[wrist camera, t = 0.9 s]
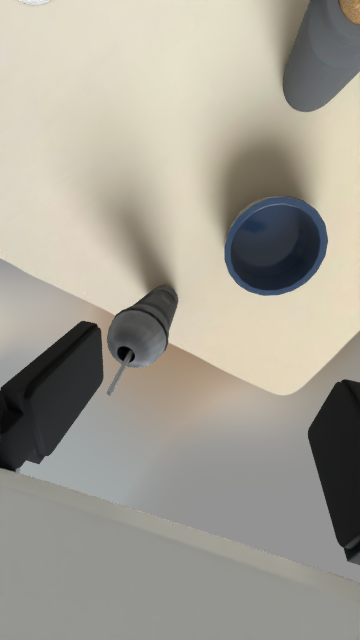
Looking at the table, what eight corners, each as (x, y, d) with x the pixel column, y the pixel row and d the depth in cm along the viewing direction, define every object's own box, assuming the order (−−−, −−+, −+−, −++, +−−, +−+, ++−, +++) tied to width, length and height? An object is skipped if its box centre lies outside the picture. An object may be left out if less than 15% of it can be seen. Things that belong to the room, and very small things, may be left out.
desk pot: (216, 217, 32) (211, 222, 27) (302, 180, 28) (317, 177, 23) (240, 289, 36) (240, 306, 30) (319, 264, 32) (335, 279, 27)
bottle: (361, 66, 23) (519, -95, 10) (306, 127, 26) (374, 61, 13) (322, 13, 22) (440, -242, 9) (269, 82, 25) (303, -38, 12)
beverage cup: (182, 274, 36) (131, 349, 19) (189, 317, 39) (151, 415, 22) (138, 279, 38) (55, 351, 21) (148, 320, 41) (84, 411, 24)
